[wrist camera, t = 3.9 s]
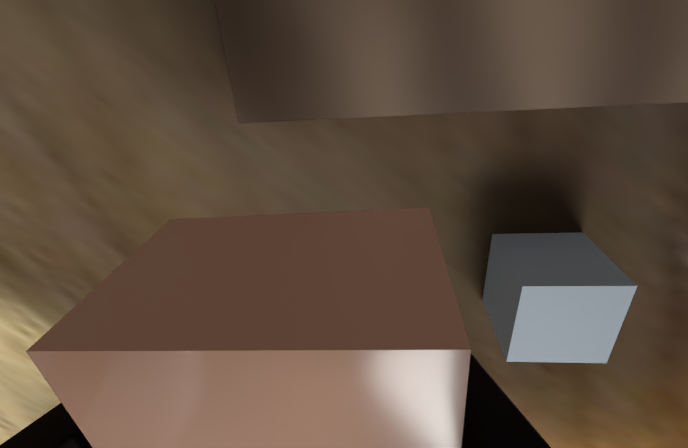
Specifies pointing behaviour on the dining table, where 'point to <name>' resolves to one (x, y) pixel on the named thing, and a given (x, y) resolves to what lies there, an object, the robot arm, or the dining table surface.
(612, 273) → the grey blue cube
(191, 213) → the dining table surface
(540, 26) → the walnut base
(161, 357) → the terracotta block
